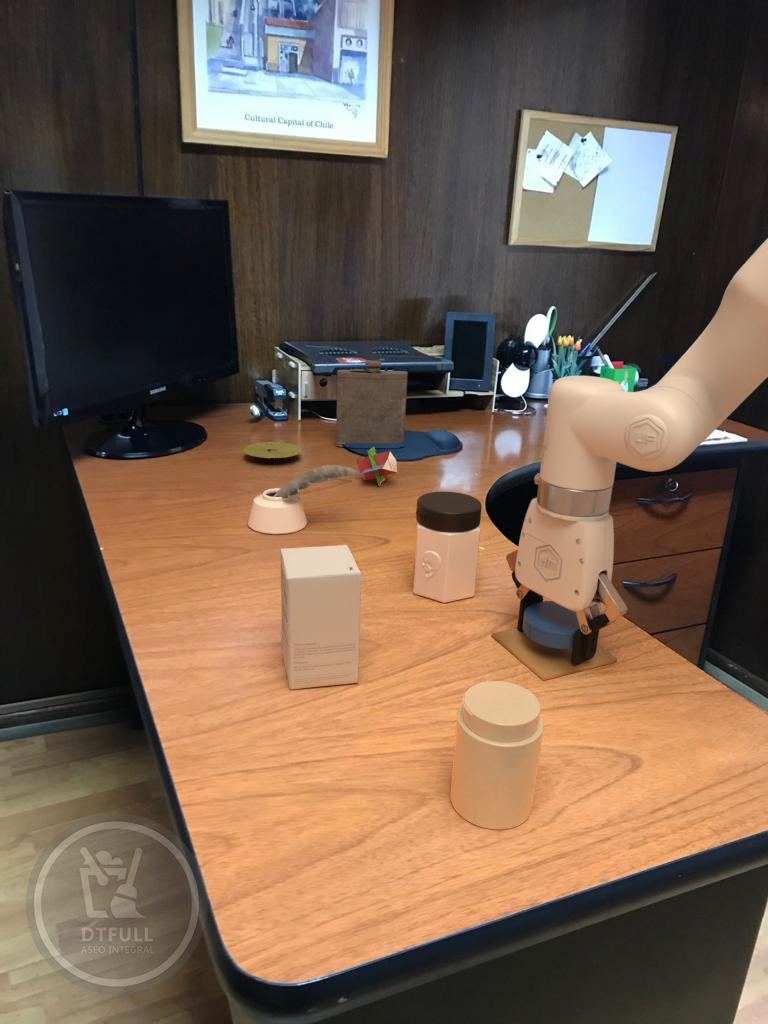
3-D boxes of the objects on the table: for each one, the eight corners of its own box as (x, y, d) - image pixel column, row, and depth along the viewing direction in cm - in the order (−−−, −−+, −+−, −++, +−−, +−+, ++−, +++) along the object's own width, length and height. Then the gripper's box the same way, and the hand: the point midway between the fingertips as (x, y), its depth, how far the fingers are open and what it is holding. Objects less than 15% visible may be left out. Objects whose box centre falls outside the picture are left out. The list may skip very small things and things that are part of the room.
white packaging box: (347, 647, 86) (349, 543, 81) (359, 685, 79) (363, 573, 75) (280, 653, 84) (279, 546, 80) (286, 691, 77) (286, 577, 73)
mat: (312, 456, 154) (312, 447, 153) (279, 470, 144) (279, 460, 144) (265, 447, 159) (265, 438, 158) (231, 460, 149) (231, 451, 148)
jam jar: (502, 764, 68) (513, 670, 65) (549, 815, 63) (564, 715, 59) (435, 784, 65) (443, 688, 62) (478, 840, 60) (489, 737, 56)
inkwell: (251, 512, 124) (250, 452, 120) (363, 515, 124) (366, 456, 121) (243, 534, 115) (241, 470, 111) (364, 537, 116) (366, 474, 112)
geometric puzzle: (342, 473, 138) (369, 441, 134) (354, 462, 144) (380, 432, 140) (372, 500, 138) (400, 469, 134) (382, 488, 144) (409, 458, 141)
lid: (548, 655, 82) (550, 639, 81) (508, 623, 88) (510, 608, 87) (604, 640, 85) (606, 625, 84) (562, 610, 91) (563, 596, 91)
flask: (405, 449, 162) (409, 363, 155) (336, 448, 160) (338, 361, 153) (402, 444, 165) (407, 360, 159) (335, 444, 163) (337, 358, 157)
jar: (397, 590, 100) (401, 503, 95) (427, 568, 106) (432, 486, 102) (459, 609, 95) (467, 518, 91) (487, 585, 102) (495, 500, 98)
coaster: (560, 620, 94) (560, 618, 94) (617, 661, 85) (617, 658, 85) (491, 636, 90) (491, 633, 89) (543, 680, 81) (543, 677, 81)
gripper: (490, 479, 85) (477, 620, 92) (618, 529, 72) (593, 691, 79) (538, 469, 90) (522, 605, 96) (666, 515, 77) (639, 669, 83)
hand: (554, 643), depth 87 cm, fingers closed on lid, 7 cm apart
